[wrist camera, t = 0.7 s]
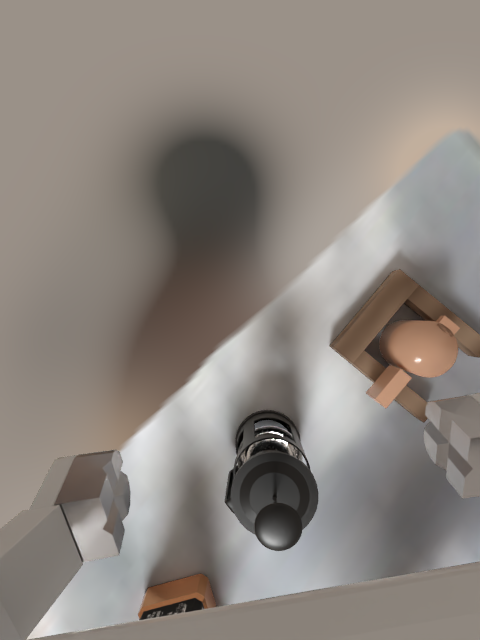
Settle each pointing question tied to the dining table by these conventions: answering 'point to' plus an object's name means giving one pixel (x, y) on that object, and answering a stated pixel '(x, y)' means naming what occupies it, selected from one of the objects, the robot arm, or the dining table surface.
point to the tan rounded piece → (413, 354)
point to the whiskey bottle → (177, 597)
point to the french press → (271, 482)
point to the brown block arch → (376, 317)
